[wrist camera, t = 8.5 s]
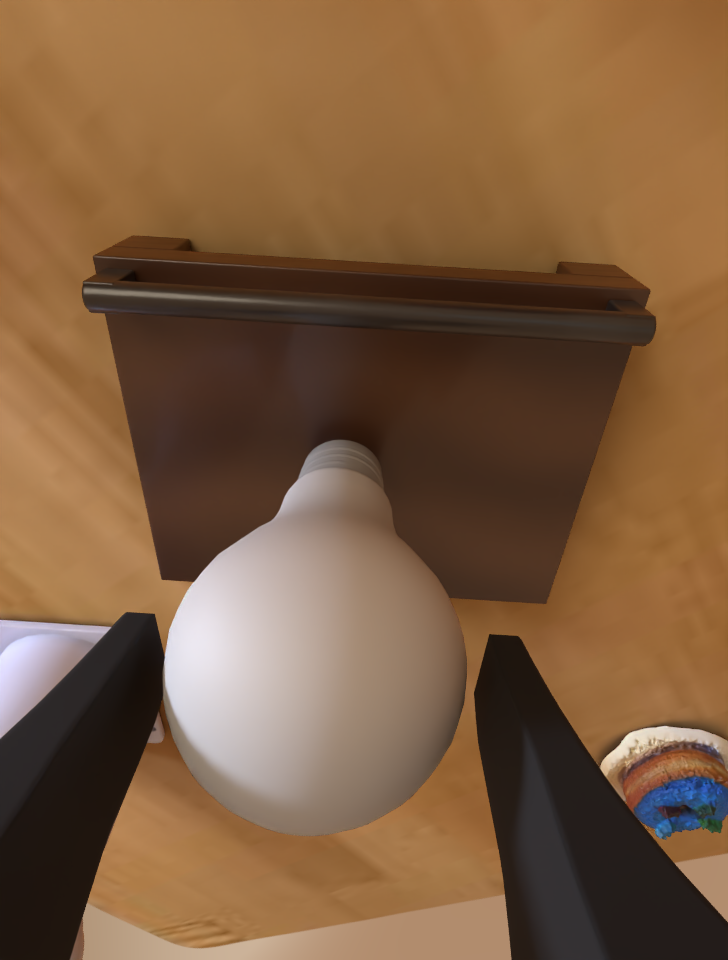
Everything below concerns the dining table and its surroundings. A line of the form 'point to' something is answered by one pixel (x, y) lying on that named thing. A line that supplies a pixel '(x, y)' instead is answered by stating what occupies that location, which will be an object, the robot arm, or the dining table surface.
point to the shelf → (368, 397)
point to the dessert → (672, 778)
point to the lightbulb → (316, 659)
